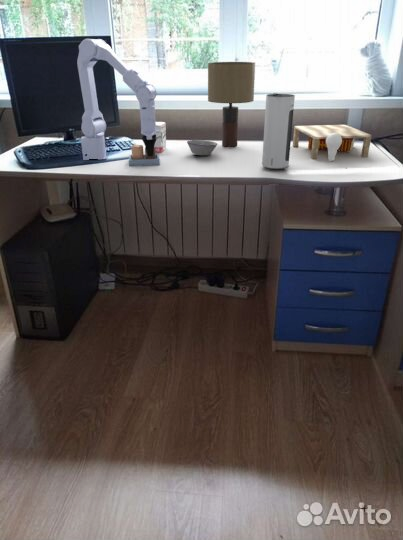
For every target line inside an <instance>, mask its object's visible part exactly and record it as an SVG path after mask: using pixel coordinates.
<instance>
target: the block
mask: <svg viewBox="0 0 403 540" xmlns="http://www.w3.org/2000/svg"><path fill="white" fill-rule="evenodd" d="M144 147H145V146H144ZM155 154H156V153H155V147H154V154H153V156H148V155H147V151H146V147H145V148H144V155H145V158H146V159H156V156H155Z"/></svg>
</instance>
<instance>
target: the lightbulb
mask: <svg viewBox="0 0 403 540" xmlns="http://www.w3.org/2000/svg"><path fill="white" fill-rule="evenodd" d="M341 143H342V138H341V136H340V135H339V134H337V133H332V134H330V135H329V136H328V137H327V138H326V145H327V148H328V150H327V154H328V155H327V157H328V161H329V162H333V161H335V158H336V155H337V152H338V151H337V150H338V148H339V147H340V145H341Z"/></svg>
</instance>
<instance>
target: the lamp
mask: <svg viewBox="0 0 403 540" xmlns="http://www.w3.org/2000/svg"><path fill="white" fill-rule="evenodd" d="M255 74H256V62H254V61H213V62H210V61H209V62H207V101H208V102H209V103H213V104H228V106H227V105H226V106H223V107H222V123H221V124H222V125H221V126H222V129H221V130H222V131H221V132H222V133H221V145H222V146H221V147H223V146H224V147H223V148H227V147H233V148H236V147H238V131H239V128H238V127H239V106H234V105H233V104H247V103H252V102H254V97H255V77H256V75H255Z"/></svg>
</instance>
